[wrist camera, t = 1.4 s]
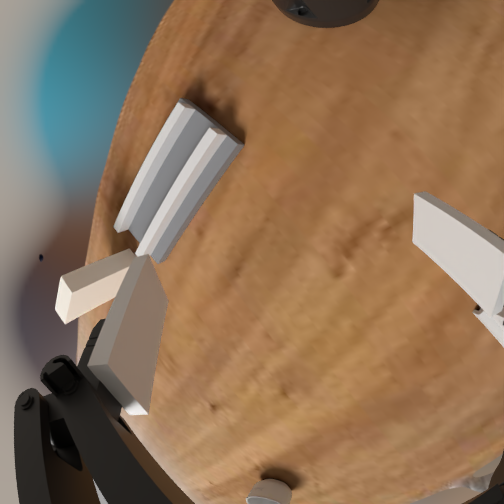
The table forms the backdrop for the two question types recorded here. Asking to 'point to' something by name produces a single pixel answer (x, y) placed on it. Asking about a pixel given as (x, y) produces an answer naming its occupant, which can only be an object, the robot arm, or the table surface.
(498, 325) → the white and black console
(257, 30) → the table surface
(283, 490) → the teacup
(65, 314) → the door panel
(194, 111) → the track
